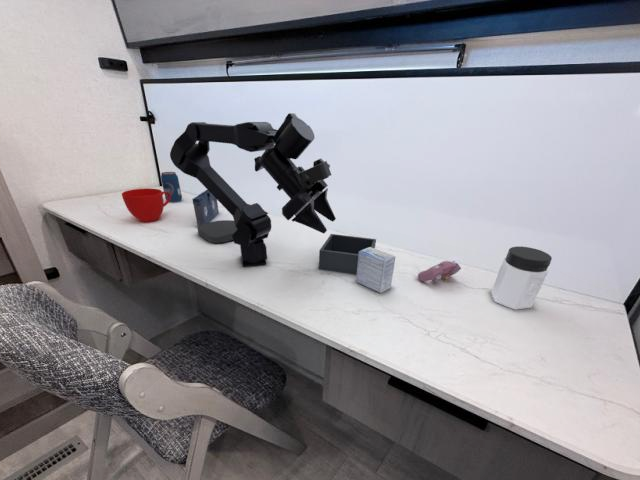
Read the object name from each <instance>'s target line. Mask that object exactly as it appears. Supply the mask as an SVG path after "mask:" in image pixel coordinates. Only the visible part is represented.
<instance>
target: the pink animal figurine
mask: <svg viewBox="0 0 640 480" xmlns="http://www.w3.org/2000/svg"><path fill="white" fill-rule="evenodd" d="M461 269H462V267H461V266H460V264H459V263H458V262H456V261H455V260H453V261H449V260H444V261H441V262H439V263H438V264H435V265H433V266H430V267H429V268H428V269H426V270H422V271H420V272H419V273H418V274H417V279H418V280H419V281H420V282H429V281H431V282H432V284H435V283H437V282H439V281H440V280H441V281H445V280H448V279H449V278H450V277H452V276H454V275H455V274H457V273H458V272H460V270H461Z"/></svg>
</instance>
